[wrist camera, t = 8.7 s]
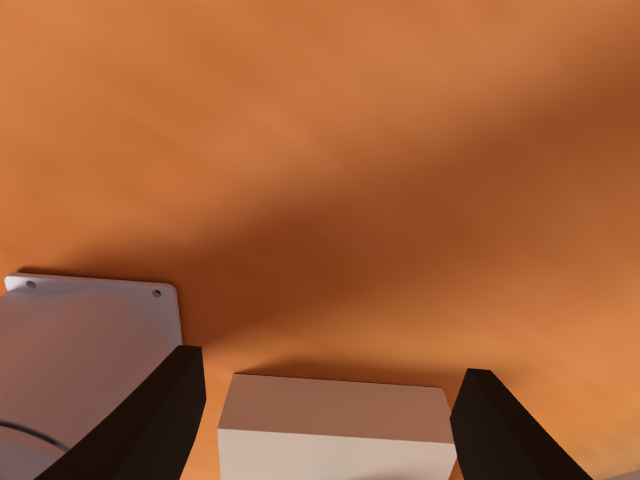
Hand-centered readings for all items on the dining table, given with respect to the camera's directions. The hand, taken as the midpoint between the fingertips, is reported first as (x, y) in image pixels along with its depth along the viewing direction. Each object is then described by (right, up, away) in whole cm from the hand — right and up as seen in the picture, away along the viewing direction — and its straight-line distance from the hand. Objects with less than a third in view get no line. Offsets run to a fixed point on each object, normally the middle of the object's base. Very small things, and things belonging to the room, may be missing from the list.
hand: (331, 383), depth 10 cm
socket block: (0, -12, +18) cm, 21 cm away
